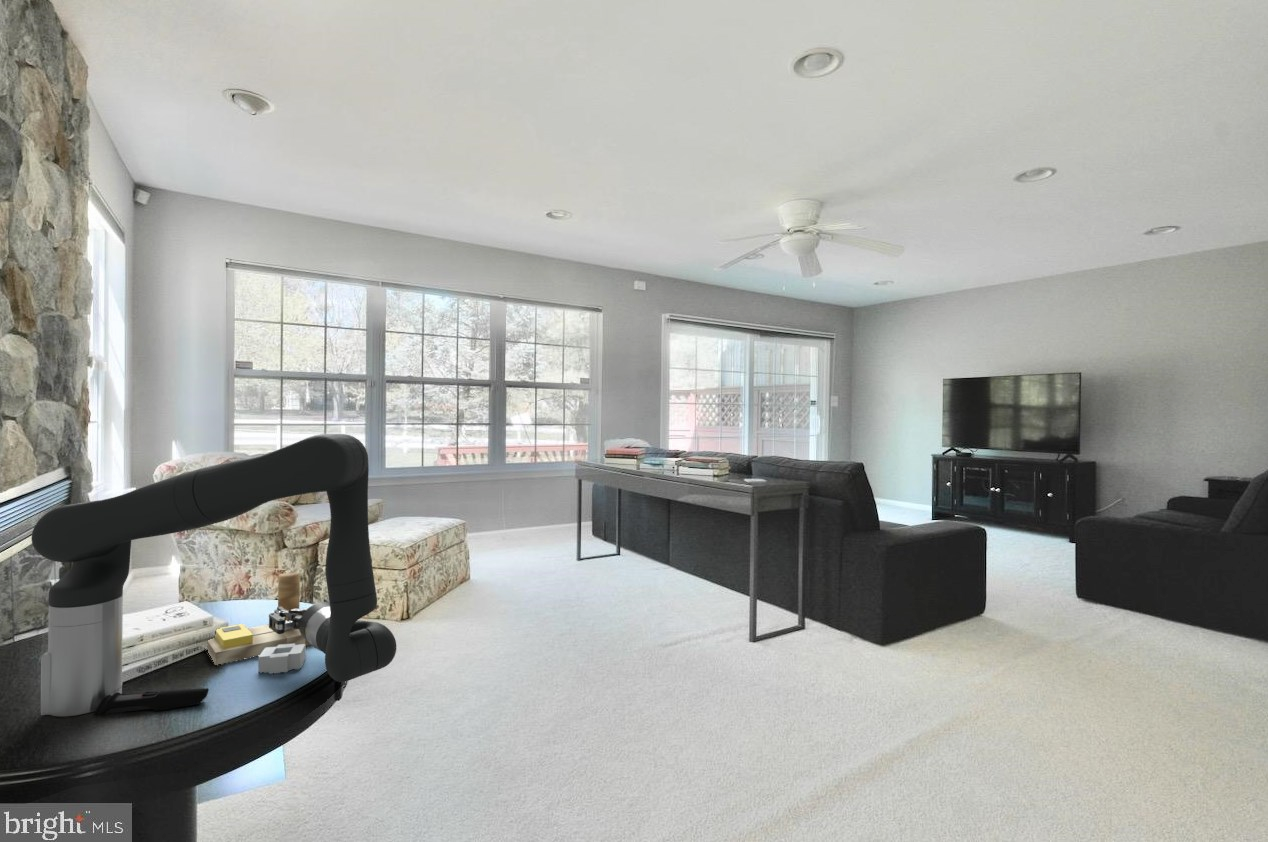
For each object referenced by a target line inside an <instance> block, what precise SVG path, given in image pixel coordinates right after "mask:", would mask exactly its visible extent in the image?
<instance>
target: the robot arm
mask: <svg viewBox="0 0 1268 842" xmlns="http://www.w3.org/2000/svg"><path fill="white" fill-rule="evenodd" d="M369 465H370V464H369V455H368V451H367V449H366V447H365V445H364V444H363V443H362V441H360V439H358V438H357V437H355V436H354V435H350V434H346V433H320V434H315V435H312V436H309V437H306V438H304V439H301V440H299V441H297V442H293V443H291V444H289V445H287V446H284V447H281V448H279V449H277V450H274V451H272V452H269V453H265V454H263V455H260V456H256V457H251V458H245V459H236V460H232V461H227V462H224V463H218V464H214V465H209V466H206V467H202V468H198V469H197V468H196V469H194V470H191V471H187V472H184V473H183V472H182V473H180V474H178V475H175V476H171V477H169V478H165V479H161V480H159V481H157V482H154V483H151V484H148V485H145V486H142V487H140V488H137V489H135V490H131V491H130V492H126V493H124V494H120V495H117V496H114V497H110V498H109V497H108V498H105V499H101V500H100V499H99V500H92V501H85V502H79V503H72V504H67V505H61V506H59V507H56V508H54V509H52V510H50V511H48V512H46V514H44V515H42V516H41V518H40V519H39V520H38V521H37V522H36V524H35V525H34V527H33V530H32V533H31V537H30V538H31V544H32V546H33V549H34V550H35V551H36V552H37V553H38V554H39V555H41V556H42V557H43V558H45V559H47V560H49V561H52V562H57V563H72V566H71V567H70V569H69V570H68V572H67V573H66V574H65V575H64V576H63V577H62V578H60V579H59V580H58V581H56V582H54V584H53V585H52V586H51V587H50V589H49V590H48V622H47V623H48V628H47V629H48V630H47V631H48V633H47V634H48V635H47V636H48V638H47V640H48V642H47V643H48V644H47V646H48V647H47V648H48V649H47V651H46V652H44V653H43V654H42V655H41V658H40V716H47V715H49V716H52V717H72V716H79V715H80V716H81V715H83V714H89V713H93V712H95V711H96V709H97V707H98V706H99V704H100V703H101V701H102V700H103V699H104V698H105V697H106V696H107V695H109V694H110V695H111V696H112V695H113V694H114V693H116V692H119V693H121V694H123V629H124V628H123V627H124V626H123V620H124V619H123V615H124V613H123V611H124V608H123V606H124V605H123V604H124V603H123V602H124V600H123V599H124V597H123V595H124V593H123V592H124V586H125V583H126V582H127V579H128V577H129V574H130V565H131V552H132V551H131V549H132V541H134V540H140V539H145V538H153V537H158V536H164V535H170V534H171V535H172V534H175V533H182V532H186V531H191V530H195V529H201V528H204V527H208V526H212V525H214V524H218V523H222V522H225V521H228V520H231V519H234V518H237V517H239V516H242V515H243V514H246V513H248V512H250V511H253V510H255V509H256V508H259V506H262V505H264V504H266V503H269V502H272V501H275V500H279V499H285V498H290V497H294V496H299V495H300V496H301V495H306V494H313V493H322V492H324V493H325V492H326V496H327V500H328V503H329V509H330V510H329V511H330V527H329V536H328V543H327V550H326V555H325V579H326V580H325V581H326V588H327V589H326V590H327V596H328V598H323V601H319V602H317V603H313V604H312V605H311V606H310V607H307V608H299V609H292V610H290V611H286V610H285V609H284V608H283V607H282V606H281V607H278V606H277V608H276V609H275V610H274V611H273V612H270V613H268V624H269V628H270V629H272V630H273V631H274V632H276V633H277V634H282V633H285V629H286V628H293V629H298V630H299V631H300V633H301V635H302V636H303V637H304V638H305V639H306V640H307V641H308V642H309V643H310V644H311V645H310V646H313V647H314V648H315V649H316V650H317V651H320V652H322V653H323V654H324V655H325V656H324V664H325V669H326V672H327V673H328V675H329V676H330V677H331V678H332V679H333V680H334V681H335V682H338V683H344V682H348V681H351V680H354V679H357V678H358V677H362V676H365V675H369V674H370V673H372V672H376V671H378V670H381V669H384V668H386V667H387V666H389V664H391V663H392V662H393V661H394V658H395V656H396V653H397V640H396V638H395V636H394V634H393V632H392V631H391V630H390V628H388V627H387V626H386V625H384V624H382V623H380V622H375V621H369V620H360V619H361V618H363V617H365V616H367V615H369V614H371V613H372V612H373V611H375V610H376V608H377V605H378V597H377V596H378V595H377V592H376V590H377V589H376V584H375V576H374V571H373V569H374V568H373V562H372V556H371V548H370V547H371V546H370V534H369V533H370V531H369V502H368V501H369V492H368V490H369V470H370V469H369ZM296 613H297V614H298V615H297V616H296ZM286 615H288V621H286Z"/></svg>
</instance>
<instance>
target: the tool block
mask: <svg viewBox="0 0 1268 842" xmlns="http://www.w3.org/2000/svg"><path fill="white" fill-rule="evenodd" d="M306 648H307V646H306V644H300V645H295V643H293V644H281V645H278V646H277V647H266V648H265V649H264V650H263V651H262V653H261V654H260V656H258V660H257V661H258V665H257V666H258V670H257V671H258V674H262V672H264V673H268V674H269V675H271V674H273V673H274V674H281V673H280V672H284V673H288V671H291V670H292V669H295V670H300V668H302V667H303V665H304V663H305V661H306V656H307V655H306V651H307V649H306ZM259 672H260V673H259Z"/></svg>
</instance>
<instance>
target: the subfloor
mask: <svg viewBox="0 0 1268 842" xmlns="http://www.w3.org/2000/svg"><path fill="white" fill-rule="evenodd" d="M246 628H247V629H248V630H249V631H250V632H251V633H252V634H253V643H249V644H244V645H239V646H234V647H229V648H224V649H223V648H222V646H221V645H220V643H219V642H218V641H217V639H216V638H213V639H210V640H208V641H207V644H208V645H207V649H208V653H209V655H210V656H211V658H212V659H211V658H210V659H211V661H212V660H213V661H212V663H213V662H214V663H213V664H214V666H215V665H217V666H219V665H218V664H221V665H224V664H223V663H226V664H229V663H228V662H230V663H233V662H232V661H235V662H237V661H236V660H240V659H244V658H249V659H251V658H250V657H253V656H258V655H260V654H261V653H262V651H263V650H264V649H265V648H266V647H277V646H278V645H281V644H293V643H295V645H300V644H306V647H308V645H309V646H312V645H311V644H310V643H309V642H308V641H307V640H306V639H305V638H304V637H303V636H302V635H301V633H300V631H299V630H298V629H294V630H292V631H287V632H285V633H282V634H277V633H276V632H274V631H273V630H272V629H270V628H269V623H268V624H261V625H257V626H253V627H246ZM208 653H207V654H208ZM209 655H208V656H209ZM210 656H209V657H210ZM258 657H259V656H258ZM244 660H245V659H244ZM240 661H241V660H240Z"/></svg>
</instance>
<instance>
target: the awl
mask: <svg viewBox="0 0 1268 842" xmlns="http://www.w3.org/2000/svg"><path fill="white" fill-rule="evenodd" d="M277 577H278V578H277V579H278V585H277V588H278V589H277V607H281V606H282V607H283V608H284V609H285V610H286V611H290V610H292V609H300V601H301V600H300V598H301V597H300V592H301V590H300V588H301V587H300V586H301V584H300V582H301V581H300V580H301V573H299V572H286V573H281V574H279V575H278V576H277ZM297 615H298V614H297V613H296V616H297ZM286 621H288V615H286ZM292 630H294V629H293V628H286V629H285V632H287V631H292Z"/></svg>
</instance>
